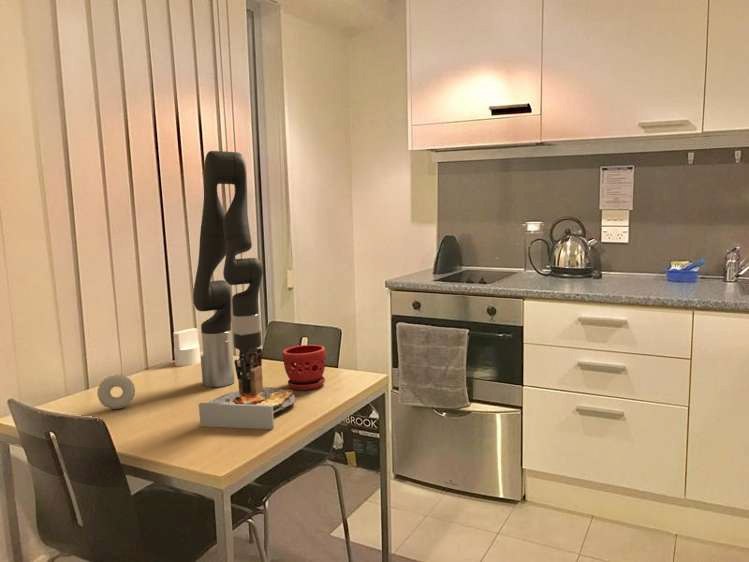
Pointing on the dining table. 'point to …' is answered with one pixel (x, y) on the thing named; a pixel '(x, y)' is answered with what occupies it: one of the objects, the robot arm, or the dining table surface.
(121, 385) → the donut
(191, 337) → the base with upright slab
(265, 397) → the food plate
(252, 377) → the walnut block
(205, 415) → the grey divider panel
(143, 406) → the dining table surface
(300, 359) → the plant pot
